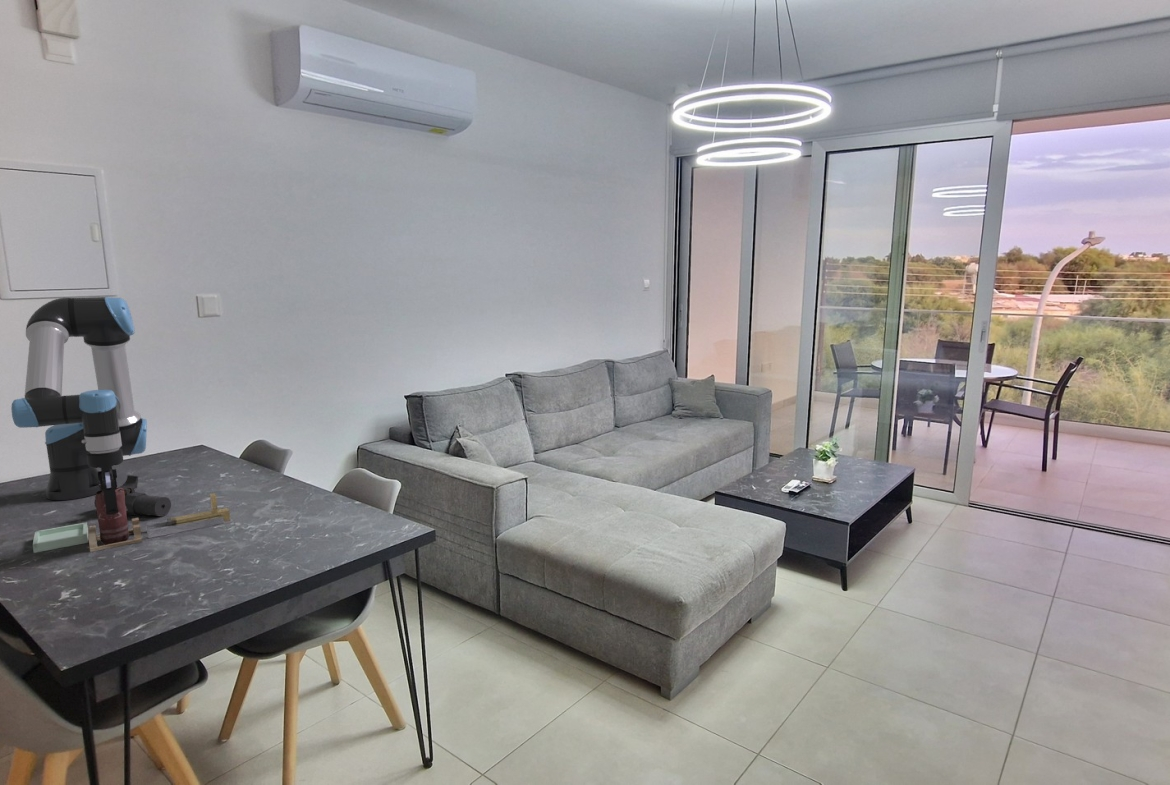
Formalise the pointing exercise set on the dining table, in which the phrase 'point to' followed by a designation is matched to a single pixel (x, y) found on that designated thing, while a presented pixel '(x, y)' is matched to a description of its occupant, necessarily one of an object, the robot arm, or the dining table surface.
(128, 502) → the laser sight
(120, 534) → the can
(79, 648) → the dining table surface
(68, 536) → the pale green shallow tray
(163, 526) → the keeper guide
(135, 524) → the socket
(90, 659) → the dining table surface
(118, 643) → the dining table surface
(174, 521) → the keeper bolt
